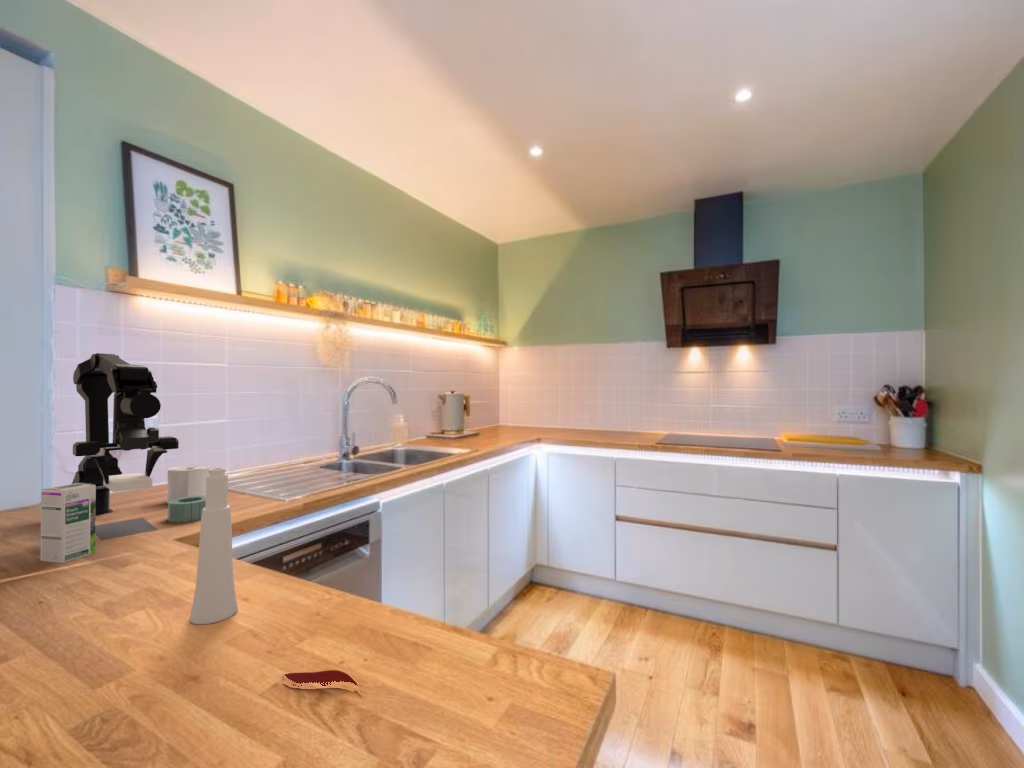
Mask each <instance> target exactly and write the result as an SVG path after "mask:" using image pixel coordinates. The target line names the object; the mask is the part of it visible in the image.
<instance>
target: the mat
mask: <svg viewBox="0 0 1024 768" xmlns="http://www.w3.org/2000/svg"><path fill="white" fill-rule="evenodd" d="M158 530H159V529H158V527H156V526H154V525H153V524H152V523H151V522H149V521H148V520H147V519H146V518H144V517H139V518H138V517H137V518H132V519H125V520H121V521H113V522H109V523H102V524H95V536H97V537H98V539H100V540H101V541H106V540H110V539H115V538H121V537H125V536H132V535H136V534H141V533H147V532H154V531H158Z"/></svg>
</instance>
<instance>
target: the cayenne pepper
mask: <svg viewBox="0 0 1024 768" xmlns="http://www.w3.org/2000/svg"><path fill="white" fill-rule="evenodd" d="M283 674H284V675H285V676H286V677H287V678H288V679H290V680H292V681H294V682H296V683H300V684H301V683H303V682H304V683H309V682H310V683H311V682H312V683H314V682H315V683H316V682H317V683H319V682H320V684H321V683H323V682H324V683H323V684H324V685H323V684H321V685H322V686H326V685H325V683H326V682H327V683H326V684H327V685H328V682H330V683H331V682H332V681H333V682H334V681H336V682H340V681H342V682H343V681H344V682H351V683H354V684H355V685H357V683H356V682H355V681H354V680H353V679H352V678H351V677H350V676H349V675H348V674H349V673H347V672H344V671H341V670H336V669H330V670H328V669H327V670H321V671H314V672H313V671H312V672H311V671H307V672H289V673H283ZM330 683H329V684H330ZM330 685H331V684H330ZM293 686H294V684H293ZM295 686H296V685H295ZM301 686H302V685H301ZM357 686H358V685H357ZM298 687H299V686H298Z"/></svg>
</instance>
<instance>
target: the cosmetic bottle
mask: <svg viewBox="0 0 1024 768" xmlns="http://www.w3.org/2000/svg"><path fill="white" fill-rule="evenodd" d="M226 472H227V468H226V467H214V468H212V467H211V469H209V470H208V473H209V475H208V476H207V477H206V507H205V508H203V509H202V517H201V519H200V531H199V543H198V545H199V546H198V557H197V566H196V567H197V570H196V578H195V579H196V580H195V587H194V588H195V589H194V596H193V601H192V604H191V605H192V607H191V611H190V616H189V621H190V623H192V624H194V625H210V624H211V625H212V624H214V623H218V622H222V621H225V620H226V619H229V618H231V617H232V616H234V615H235V614H236V613H237V611H238V609H239V607H238V601H237V597H236V596H237V595H236V589H235V578H234V563H233V560H234V559H233V533H232V532H233V531H232V530H233V529H232V509H231V505H229V504H228V497H229V496H228V495H229V493H228V490H229V476H228V474H227V473H226Z"/></svg>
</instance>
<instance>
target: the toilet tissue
mask: <svg viewBox="0 0 1024 768" xmlns="http://www.w3.org/2000/svg"><path fill="white" fill-rule="evenodd" d="M209 469H212V466H211V465H210V464H209V465H208V464H191V465H180V466H173V467H169V468H168V469H167V483H166V484H167V488H166V489H167V490H166V491H167V493H166V503H167V504H168V502H169V501H170V500H173V499H177V498H181V497H188V496H206V477H207V476H208V475H209V473H208V470H209Z"/></svg>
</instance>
